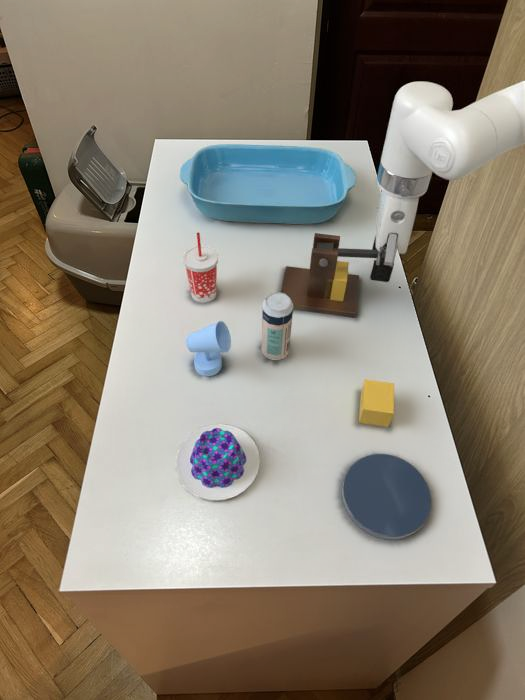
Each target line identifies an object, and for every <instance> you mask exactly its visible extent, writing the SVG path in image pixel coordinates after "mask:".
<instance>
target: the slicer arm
mask: <svg viewBox="0 0 525 700" xmlns="http://www.w3.org/2000/svg"><path fill="white" fill-rule="evenodd" d="M384 245H385V246H386V245H387V243H385V244H384ZM317 249H324V250H332V251H338V258H361V259H377V254H378V250H372V249H368V248H345V247H344V248H343V247H339V248H334V243H327V242H318V243H317ZM384 256H385V251H382V254H381V257H384Z"/></svg>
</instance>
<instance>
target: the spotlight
mask: <svg viewBox="0 0 525 700" xmlns="http://www.w3.org/2000/svg"><path fill="white" fill-rule="evenodd" d="M185 338H186V339H185V343H186V347H187V349H188V351H189V352H190V353H195V355H194V357H193V364H194V370H195V372H196V373H197V374H199V375H200V376H203V377H213V376H215V375H217V374H218V373H219V372H220V371H221V370H222V366H223V362H222V355H221V353H224V354H226V353H228V352H230V350H231V348H232V347H231V346H232V337H231V332H230V330H229V327H228V325H227V324H226V323H225V322H224V321H223V320H219V321H217V322H215V323H211V324H209V325H207V326H205V327H202V328H201V329H199V330H198V329H197V330H196V331H194V332H192V333H189V334H187V335H186V337H185Z"/></svg>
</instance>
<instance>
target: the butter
mask: <svg viewBox="0 0 525 700" xmlns="http://www.w3.org/2000/svg"><path fill="white" fill-rule="evenodd" d="M349 264H350V262H349V261H341V260H337V265H336V271H335V277H334V280H333V282H332V284H333V285H332V284H331V285H330V283H331V282H329V281H328V279H327V282H328V283H327V284H326V285H327V286H326V288H327V289H326V290H325V293H326V294H325V295H326V296H327V298H328V297H329V296H330V297H329V300H337V301H343V299H344V294H345V289H346V284H347V276H348V274H349ZM328 285H329V286H328ZM331 286H332V290H331ZM328 288H330V289H329V291H330V292H328ZM329 293H330V294H331V295H330V294H329ZM327 294H329V296H328V295H327ZM326 296H324V298H326Z"/></svg>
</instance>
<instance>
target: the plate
mask: <svg viewBox="0 0 525 700" xmlns="http://www.w3.org/2000/svg"><path fill="white" fill-rule="evenodd" d="M341 497H342V502H343V506H344V508H345V510H346V512H347V514H348V516H349V518H350V519H351V520H352V522H353V523H354V524H355V525H356V526H357V527H358V528H360V529H361V530H362V531H364V532H366V534H369V535H371V536H373V537H377V538H378V539H383V540H390V541H391V540H392V541H393V540H401V539H404V538H407V537H410V536H412V535H414V534H415V533H417V532H418V531H419V530H420V529H421V528H422V527H423V525H424V524H425V522H426V521H427V519H428V517H429V514H430V513H431V506H432V495H431V491H430V489H429V485H428V483H427V481H426V479H425V478H424V476H423V475H422V474H421V473H420V471H419V470H418V469H417V468H416V467H415V466H414V465H413V464H411V463H410V462H409V461H407V460H405V459H403V458H401V457H398V456H395V455H393V454H387V453H374V454H369V455H366V456H364V457H362V458H359V459H358V460H356V461H355V462H354V463H353V464H352V465H351V466H350V467H349V468H348V471H347V472H346V474H345V476H344V480H343V483H342V487H341Z"/></svg>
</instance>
